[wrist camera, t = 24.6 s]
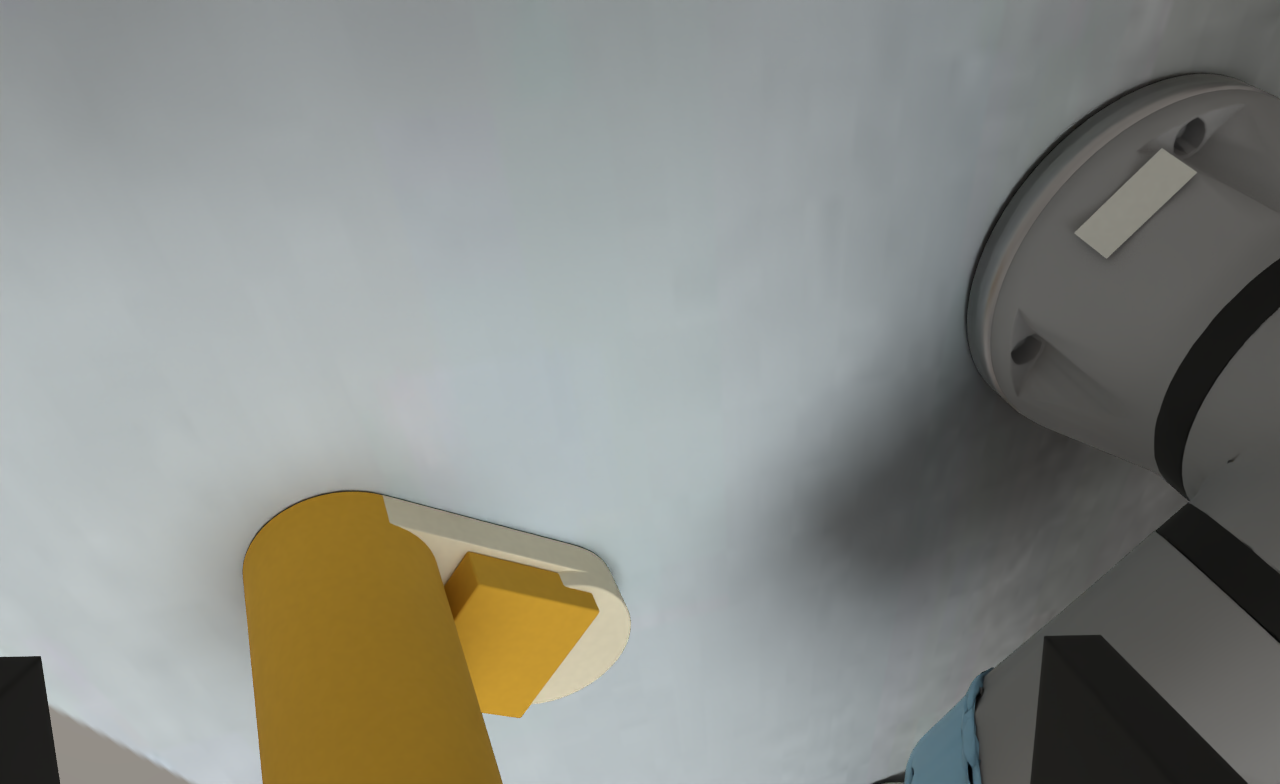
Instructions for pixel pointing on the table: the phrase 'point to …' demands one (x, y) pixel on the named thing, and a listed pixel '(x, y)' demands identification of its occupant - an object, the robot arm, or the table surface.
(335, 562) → the rain boot
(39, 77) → the table surface
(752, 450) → the table surface
